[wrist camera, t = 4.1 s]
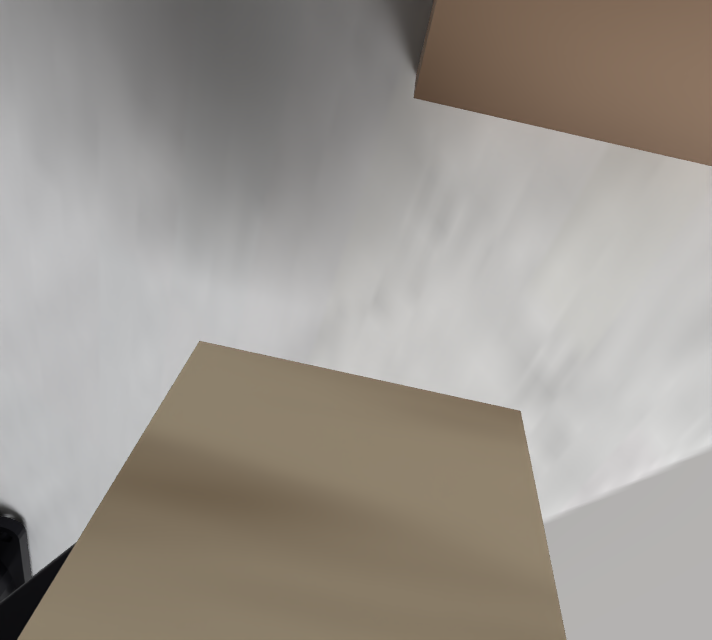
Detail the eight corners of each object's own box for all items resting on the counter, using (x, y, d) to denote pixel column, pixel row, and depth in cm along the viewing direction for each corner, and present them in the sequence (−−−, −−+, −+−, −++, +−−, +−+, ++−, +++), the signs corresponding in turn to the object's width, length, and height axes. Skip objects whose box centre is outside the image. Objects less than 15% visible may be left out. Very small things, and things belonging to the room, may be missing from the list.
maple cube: (437, 608, 12) (440, 971, 8) (184, 554, 12) (44, 887, 8) (520, 411, 9) (596, 789, 5) (199, 341, 9) (3, 660, 5)
